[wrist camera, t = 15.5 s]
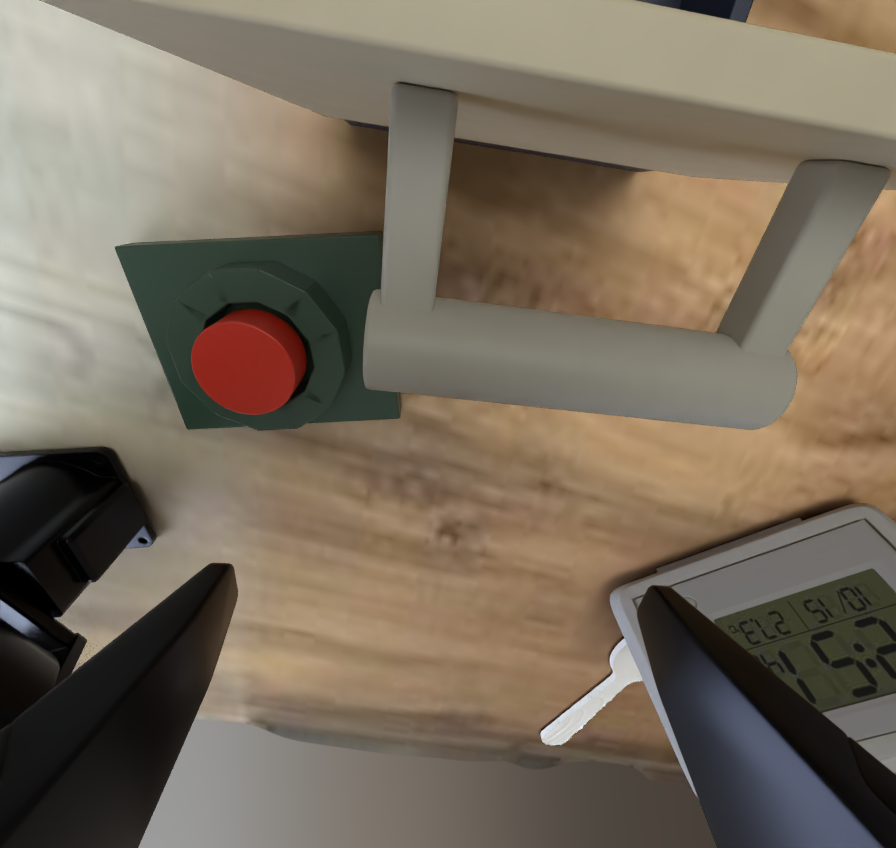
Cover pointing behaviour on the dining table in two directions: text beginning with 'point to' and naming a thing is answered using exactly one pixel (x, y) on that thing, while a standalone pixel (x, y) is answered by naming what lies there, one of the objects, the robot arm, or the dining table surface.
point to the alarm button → (249, 361)
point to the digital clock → (799, 615)
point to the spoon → (594, 697)
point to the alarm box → (272, 290)
